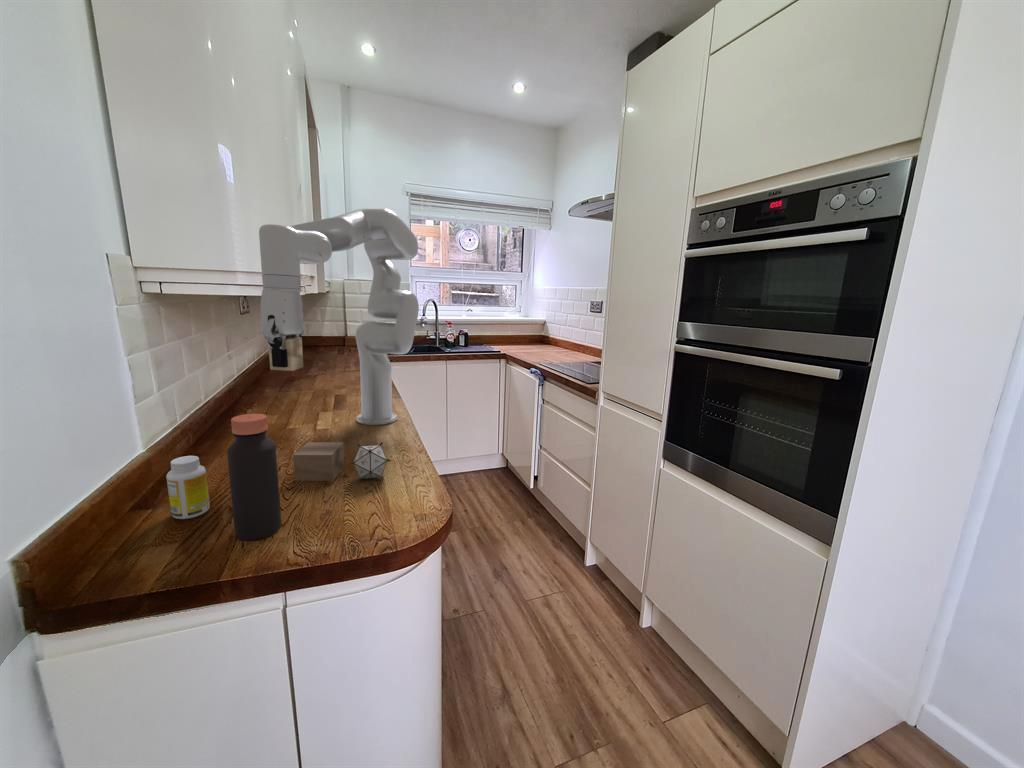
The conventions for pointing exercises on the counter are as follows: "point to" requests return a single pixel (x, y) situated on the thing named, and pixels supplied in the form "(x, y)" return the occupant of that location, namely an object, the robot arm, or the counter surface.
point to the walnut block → (318, 461)
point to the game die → (370, 461)
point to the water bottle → (253, 478)
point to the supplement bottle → (187, 488)
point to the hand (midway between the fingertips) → (287, 364)
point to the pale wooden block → (290, 354)
